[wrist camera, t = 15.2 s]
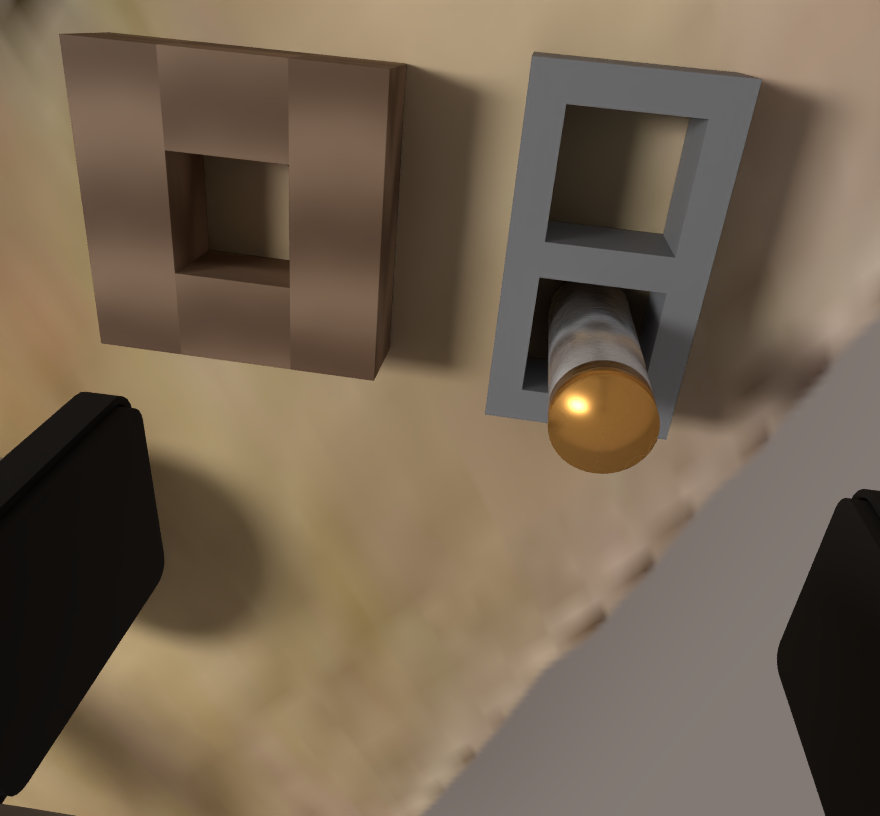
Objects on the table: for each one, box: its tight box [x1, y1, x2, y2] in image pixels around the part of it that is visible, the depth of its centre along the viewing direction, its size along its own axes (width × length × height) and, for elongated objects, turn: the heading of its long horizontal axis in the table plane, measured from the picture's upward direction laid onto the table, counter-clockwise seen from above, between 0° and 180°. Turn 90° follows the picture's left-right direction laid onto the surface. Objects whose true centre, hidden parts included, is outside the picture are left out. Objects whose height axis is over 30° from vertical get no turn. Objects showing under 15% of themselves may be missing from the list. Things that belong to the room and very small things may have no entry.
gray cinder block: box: [485, 52, 762, 440], centre depth 34 cm, size 16×9×4 cm, turn 175°
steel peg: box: [548, 281, 660, 474], centre depth 33 cm, size 4×4×12 cm
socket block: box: [59, 32, 407, 381], centre depth 36 cm, size 14×14×4 cm
